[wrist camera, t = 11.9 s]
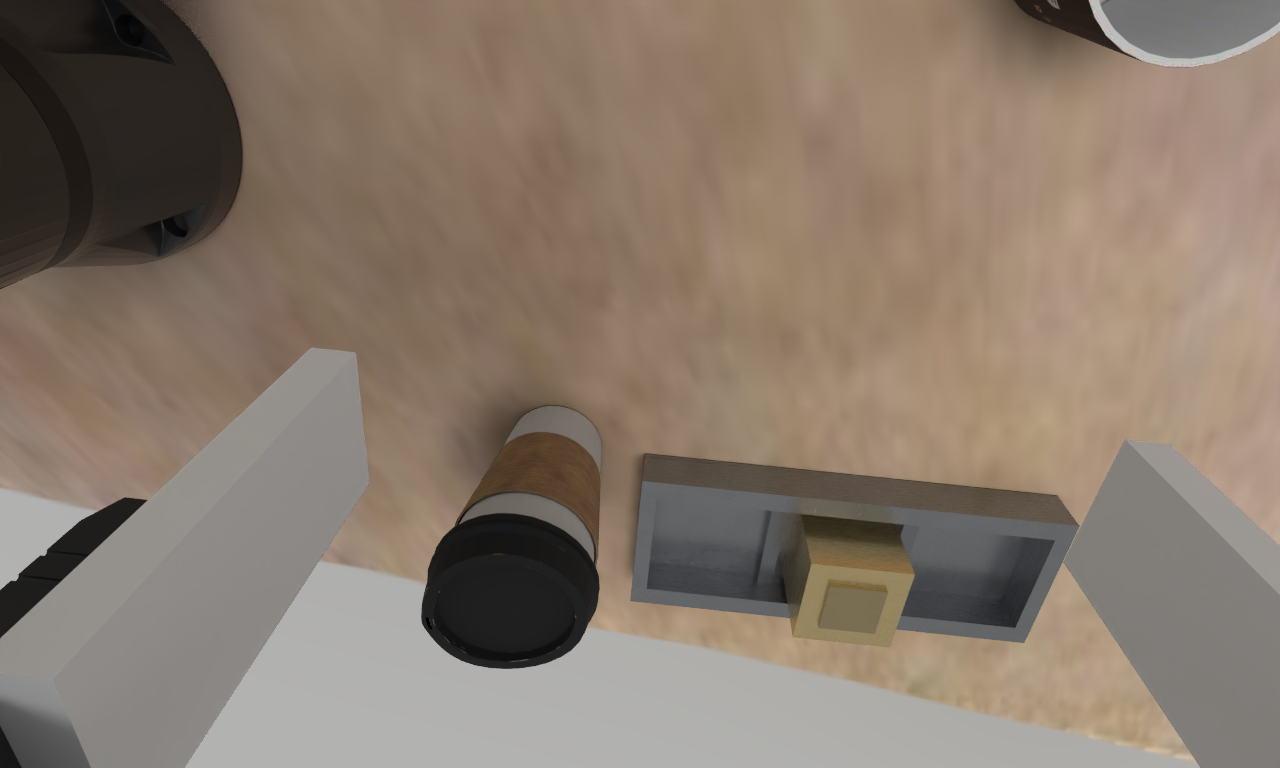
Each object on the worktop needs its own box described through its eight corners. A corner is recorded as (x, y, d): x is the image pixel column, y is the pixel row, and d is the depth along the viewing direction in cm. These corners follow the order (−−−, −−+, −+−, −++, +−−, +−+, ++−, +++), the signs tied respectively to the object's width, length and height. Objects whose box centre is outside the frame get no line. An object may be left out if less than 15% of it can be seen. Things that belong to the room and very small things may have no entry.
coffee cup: (479, 392, 45) (391, 555, 32) (612, 382, 44) (577, 545, 31) (507, 500, 49) (438, 685, 36) (629, 492, 48) (605, 679, 35)
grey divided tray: (633, 570, 51) (630, 601, 48) (645, 453, 46) (642, 480, 44) (1006, 609, 51) (1024, 643, 48) (1057, 495, 46) (1079, 525, 43)
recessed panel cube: (782, 569, 50) (793, 640, 44) (797, 500, 47) (812, 567, 41) (868, 578, 50) (890, 651, 44) (889, 509, 47) (916, 578, 41)
